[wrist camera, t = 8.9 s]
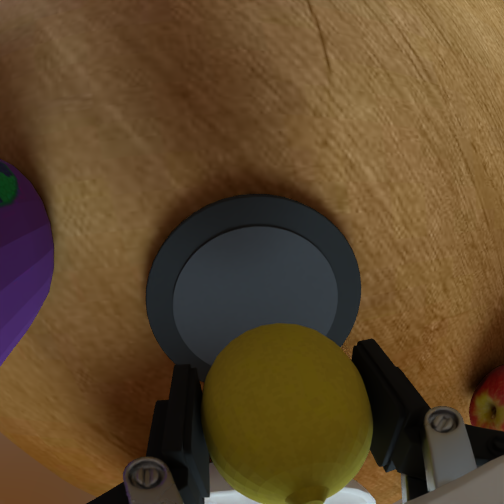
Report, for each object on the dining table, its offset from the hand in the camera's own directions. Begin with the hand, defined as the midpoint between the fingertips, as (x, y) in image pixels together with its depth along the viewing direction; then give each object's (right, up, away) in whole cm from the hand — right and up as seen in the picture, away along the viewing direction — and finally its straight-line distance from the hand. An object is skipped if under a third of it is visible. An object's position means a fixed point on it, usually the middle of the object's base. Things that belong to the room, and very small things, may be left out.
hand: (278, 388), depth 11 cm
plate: (-1, +2, +7) cm, 7 cm away
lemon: (0, +1, +3) cm, 3 cm away
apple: (+23, -8, +13) cm, 28 cm away
